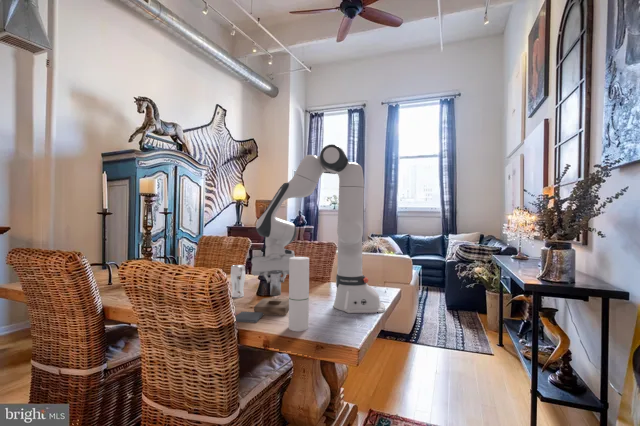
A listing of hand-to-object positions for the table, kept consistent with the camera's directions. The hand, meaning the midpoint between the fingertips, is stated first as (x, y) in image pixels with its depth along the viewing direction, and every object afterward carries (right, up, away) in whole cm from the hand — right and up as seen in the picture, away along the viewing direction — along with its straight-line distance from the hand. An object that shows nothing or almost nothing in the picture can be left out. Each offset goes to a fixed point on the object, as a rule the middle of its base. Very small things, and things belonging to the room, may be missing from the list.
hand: (275, 282), depth 131 cm
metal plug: (0, -5, +1) cm, 5 cm away
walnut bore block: (-1, -12, +1) cm, 12 cm away
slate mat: (-9, -12, -10) cm, 18 cm away
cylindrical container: (+11, -12, -20) cm, 26 cm away
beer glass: (-22, -12, +22) cm, 33 cm away
